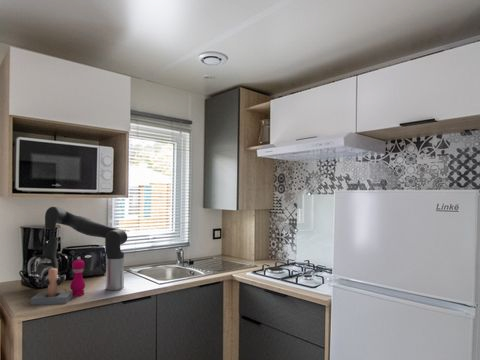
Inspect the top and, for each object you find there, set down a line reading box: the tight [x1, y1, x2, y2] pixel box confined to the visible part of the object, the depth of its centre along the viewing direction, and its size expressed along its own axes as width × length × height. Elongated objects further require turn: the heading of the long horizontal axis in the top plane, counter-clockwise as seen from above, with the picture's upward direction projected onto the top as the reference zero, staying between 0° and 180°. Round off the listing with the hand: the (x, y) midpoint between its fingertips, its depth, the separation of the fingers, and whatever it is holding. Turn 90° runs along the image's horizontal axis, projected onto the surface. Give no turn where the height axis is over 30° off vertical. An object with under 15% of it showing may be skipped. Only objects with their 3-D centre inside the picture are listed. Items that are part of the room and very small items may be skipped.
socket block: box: [30, 291, 74, 306], centre depth 170 cm, size 16×10×3 cm, turn 100°
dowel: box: [47, 267, 59, 297], centre depth 170 cm, size 4×4×14 cm
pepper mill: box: [69, 256, 86, 297], centre depth 182 cm, size 7×7×20 cm
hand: (53, 282), depth 168 cm, fingers closed on dowel, 4 cm apart
